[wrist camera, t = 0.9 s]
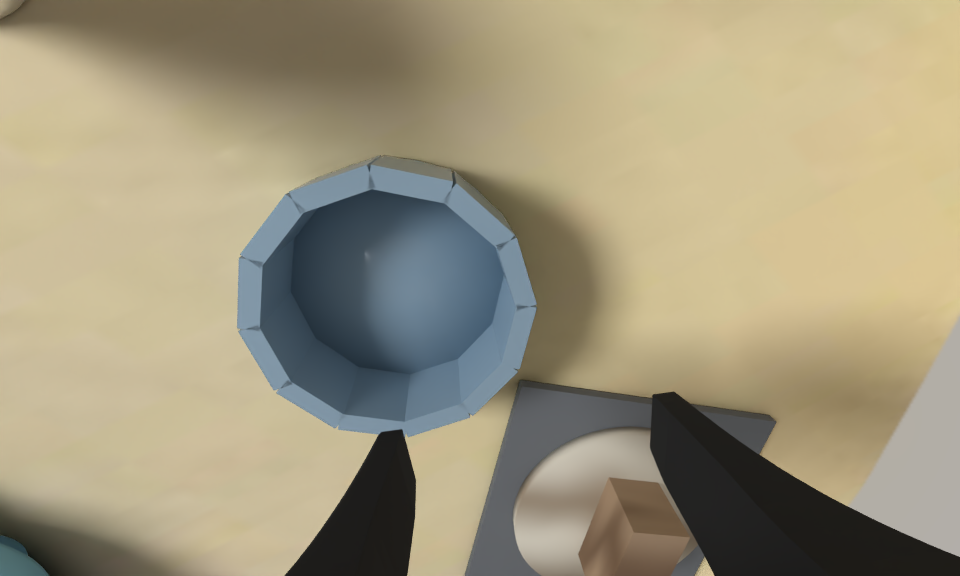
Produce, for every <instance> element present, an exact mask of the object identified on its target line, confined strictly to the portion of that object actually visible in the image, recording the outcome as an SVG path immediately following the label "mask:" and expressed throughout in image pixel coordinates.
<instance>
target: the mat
mask: <svg viewBox="0 0 960 576" xmlns="http://www.w3.org/2000/svg"><path fill="white" fill-rule="evenodd" d="M691 405H692V406H693V407H695V408H696V409H697V410H698V411H700V412H701V413H702V414H704V415H705V416H706V417H708V418H709V419H710V420H712V421H713V422H714V423H715V424H717V425H718V426H719V427H721V428H722V429H723V430H725V431H726V432H728V433H729V434H730V435H732V436H733V437H735V438H736V439H737V440H739V441H740V442H741V443H743V444H744V445H746V446H747V447H749V448H750V449H752V450H753V451H754V452H756V453H757V454H760V452H761V450H762V448H763V446H764V444H765V443H766V441H767V439H768V437H769V435H770V433H771V431H772V430H773V428H774V426H775V424H776V421H775V420H774V419H773V418H772V417H771V416H770V415H764V414H757V413H750V412H743V411H736V410H729V409H722V408H715V407H708V406H701V405H694V404H691ZM651 416H652V399H651V398H644V397H637V396H630V395H623V394H616V393H609V392H602V391H595V390H588V389H581V388H573V387H566V386H559V385H552V384H545V383H538V382H531V381H524V380H520V382H519V385H518V389H517V392H516V396H515V399H514V403H513V406H512V410H511V413H510V417H509V420H508V424H507V428H506V431H505V435H504V438H503V442H502V445H501V449H500V452H499V456H498V459H497V463H496V466H495V470H494V474H493V477H492V481H491V484H490V488H489V491H488V495H487V498H486V502H485V505H484V509H483V512H482V516H481V520H480V523H479V527H478V530H477V534H476V537H475V541H474V544H473V548H472V551H471V555H470V559H469V562H468V566H467V569H466V573H465V576H541V575H540V574H538V573H537V572H536V571H535V570H534V569H533V568H531V567H530V566H529V565H528V563H527V562H526V561H525V559H524V558H523V556H522V554H521V553H520V551H519V548H518V545H517V542H516V537H515V532H514V525H513V508H514V504H515V499H516V497H517V494H518V491H519V489H520V487H521V485H522V484H523V482H524V480H525V479H526V477H527V476H528V475H529V473H530V472H531V471H532V469H533V468H534V467H535V466H536V465H537V464H538V463H539V462H540V461H541V460H542V459H544V458H545V457H546V456H547V455H549V454H550V453H551V452H552V451H554V450H555V449H557V448H559V447H560V446H562V445H563V444H565V443H567V442H569V441H571V440H573V439H575V438H577V437H580V436H583V435H585V434H588V433H591V432H595V431H599V430H603V429H608V428H615V427H630V426H633V427H646V428H651ZM703 558H704V554H703V552H702V551H701V549H700V547H699V545H697V547H696V548H695V549H694V550H693V551H692V552H691V553H690V554H689V555H688V556H686V557H685V558H684V559H683V560H682V561H680V562H679V563H678V564H677V565H676V567H675V569H674V570H673V572H672V574H671V576H694V575H695V573H696V571H697V569H698V568H699V566H700V564H701V562H702V560H703Z"/></svg>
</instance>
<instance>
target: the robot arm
mask: <svg viewBox="0 0 960 576" xmlns="http://www.w3.org/2000/svg"><path fill="white" fill-rule="evenodd" d="M650 450H651V452H652V455H653V457H654V460H655V462H656V465H657V467H658V470H659V472H660V475H661V477H662V479H663V482H664V484H665V485H666V487H667V489H668V491H669V493H670V495H671V497H672V498H673V500H674V502H675V504H676V506H677V507H678V509H679V511H680V513H681V515H682V516H683V518H684V520H685V522H686V524H687V525H688V527H689V529H690V531H691V533H692V534H693V536H694V538H695V540H696V542H697V543H698V545H699V547H700V549H701V551H702V552H703V554H704V556H705V558H706V560H707V561H708V563H709V565H710V567H711V569H712V571H713V573H714V575H715V576H960V557H958V556H956V555H953V554H951V553H948V552H945V551H943V550H941V549H938V548H936V547H934V546H931V545H929V544H927V543H924V542H922V541H920V540H917V539H915V538H913V537H911V536H908V535H906V534H904V533H901V532H899V531H897V530H895V529H893V528H891V527H888V526H886V525H884V524H882V523H880V522H878V521H876V520H874V519H872V518H869V517H868V516H866V515H863V514H862V513H860V512H858V511H856V510H854V509H852V508H850V507H848V506H846V505H844V504H842V503H840V502H838V501H836V500H834V499H832V498H830V497H829V496H827V495H825V494H823V493H821V492H819V491H818V490H816V489H814V488H813V487H811V486H809V485H807V484H806V483H804V482H802V481H800V480H799V479H797V478H795V477H793V476H792V475H790V474H789V473H787V472H785V471H784V470H782V469H780V468H779V467H777V466H776V465H774V464H773V463H771V462H770V461H768V460H767V459H765V458H764V457H762V456H760V455H759V454H757V453H756V452H754V451H753V450H752V449H750V448H749V447H747V446H746V445H744V444H743V443H741V442H740V441H739V440H737V439H736V438H735V437H733V436H732V435H730V434H729V433H728V432H726V431H725V430H723V429H722V428H721V427H719V426H718V425H717V424H715V423H714V422H713V421H712V420H710V419H709V418H708V417H706V416H705V415H704V414H702V413H701V412H700V411H698V410H697V409H696V408H695V407H693V406H692V405H691V404H689V403H688V402H687V401H686V400H684V399H683V398H682V397H680V396H679V395H678V394H676V393H675V392H668V393H661V394H653V398H652V416H651V434H650ZM415 500H416V479H415V475H414V471H413V467H412V464H411V460H410V456H409V452H408V449H407V445H406V441H405V437H404V434H403V430H402V429H399V430H391V431H384V432H381V433H380V434H379V435H378V437H377V439H376V441H375V442H374V444H373V446H372V448H371V450H370V452H369V454H368V455H367V457H366V459H365V461H364V463H363V464H362V466H361V468H360V470H359V471H358V473H357V475H356V476H355V478H354V480H353V481H352V483H351V485H350V486H349V488H348V490H347V491H346V493H345V494H344V496H343V498H342V499H341V501H340V502H339V504H338V505H337V507H336V508H335V510H334V511H333V513H332V514H331V516H330V517H329V519H328V520H327V521H326V523H325V524H324V526H323V527H322V529H321V530H320V531H319V533H318V534H317V536H316V537H315V538H314V540H313V541H312V542H311V544H310V545H309V546H308V548H307V549H306V550H305V551H304V553H303V554H302V555H301V556H300V558H299V559H298V560H297V562H296V563H295V564H294V565H293V566H292V568H291V569H290V570H289V571H288V572H287V573H286V575H285V576H407V573H408V566H409V558H410V551H411V543H412V536H413V528H414V520H415Z"/></svg>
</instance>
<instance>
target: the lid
mask: <svg viewBox="0 0 960 576" xmlns="http://www.w3.org/2000/svg"><path fill="white" fill-rule="evenodd" d="M650 434H651V428H646V427H633V426H630V427H615V428H608V429H603V430H599V431H595V432H591V433H588V434H585V435H583V436H580V437H577V438H575V439H573V440H571V441H569V442H567V443H565V444H563V445H562V446H560V447H559V448H557V449H555V450H554V451H552V452H551V453H550V454H549V455H547V456H546V457H545V458H544V459H542V460H541V461H540V462H539V463H538V464H537V465H536V466H535V467H534V468H533V469H532V471H531V472H530V473H529V475H528V476H527V477H526V479H525V480H524V482H523V484H522V485H521V487H520V489H519V491H518V494H517V497H516V499H515V504H514V508H513V525H514V532H515V537H516V542H517V545H518V548H519V551H520V553H521V554H522V556H523V558H524V559H525V561H526V562H527V563H528V565H529V566H530V567H531V568H533V569H534V570H535V571H536V572H537V573H538V574H540V575H541V576H671V574H672V572H673V570H674V569H675V567H676V565H677V564H678V563H679V562H680V561H682V560H683V559H684V558H685V557H686V556H688V555H689V554H690V553H691V552H692V551H693V550H694V549H695V548H696V547H697V545H698V543H697V542H696V540H695V538H694V536H693V534H692V533H691V531H690V529H689V527H688V525H687V524H686V522H685V520H684V518H683V516H682V515H681V513H680V511H679V509H678V507H677V506H676V504H675V502H674V500H673V498H672V497H671V495H670V493H669V491H668V489H667V487H666V485H665V484H664V482H663V479H662V477H661V475H660V472H659V470H658V467H657V465H656V462H655V460H654V457H653V455H652V452H651V450H650Z"/></svg>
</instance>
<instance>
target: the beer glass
mask: <svg viewBox="0 0 960 576" xmlns="http://www.w3.org/2000/svg"><path fill="white" fill-rule="evenodd" d="M24 1H25V0H0V19H1V18H3V17H6V16H8V15H9V14H11V13H12V12H14V11H15V10H16V9H18V8H19V7H20V6H21V5H22V4H23V3H24Z"/></svg>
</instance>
